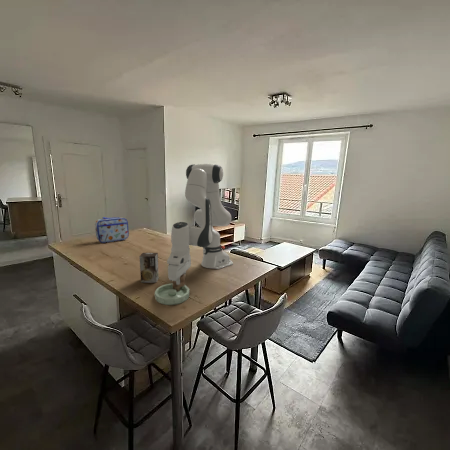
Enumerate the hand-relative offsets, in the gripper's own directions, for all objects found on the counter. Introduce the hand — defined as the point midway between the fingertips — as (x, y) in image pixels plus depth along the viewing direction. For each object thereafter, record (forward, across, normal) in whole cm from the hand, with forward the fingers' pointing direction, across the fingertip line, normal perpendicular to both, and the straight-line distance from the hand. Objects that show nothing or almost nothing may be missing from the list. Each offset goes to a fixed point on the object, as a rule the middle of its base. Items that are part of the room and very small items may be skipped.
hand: (180, 281), depth 122 cm
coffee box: (+9, -14, -25) cm, 30 cm away
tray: (+9, 0, -5) cm, 10 cm away
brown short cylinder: (+2, 0, 0) cm, 2 cm away
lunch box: (+8, -77, -99) cm, 126 cm away
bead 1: (+8, -5, -5) cm, 10 cm away
